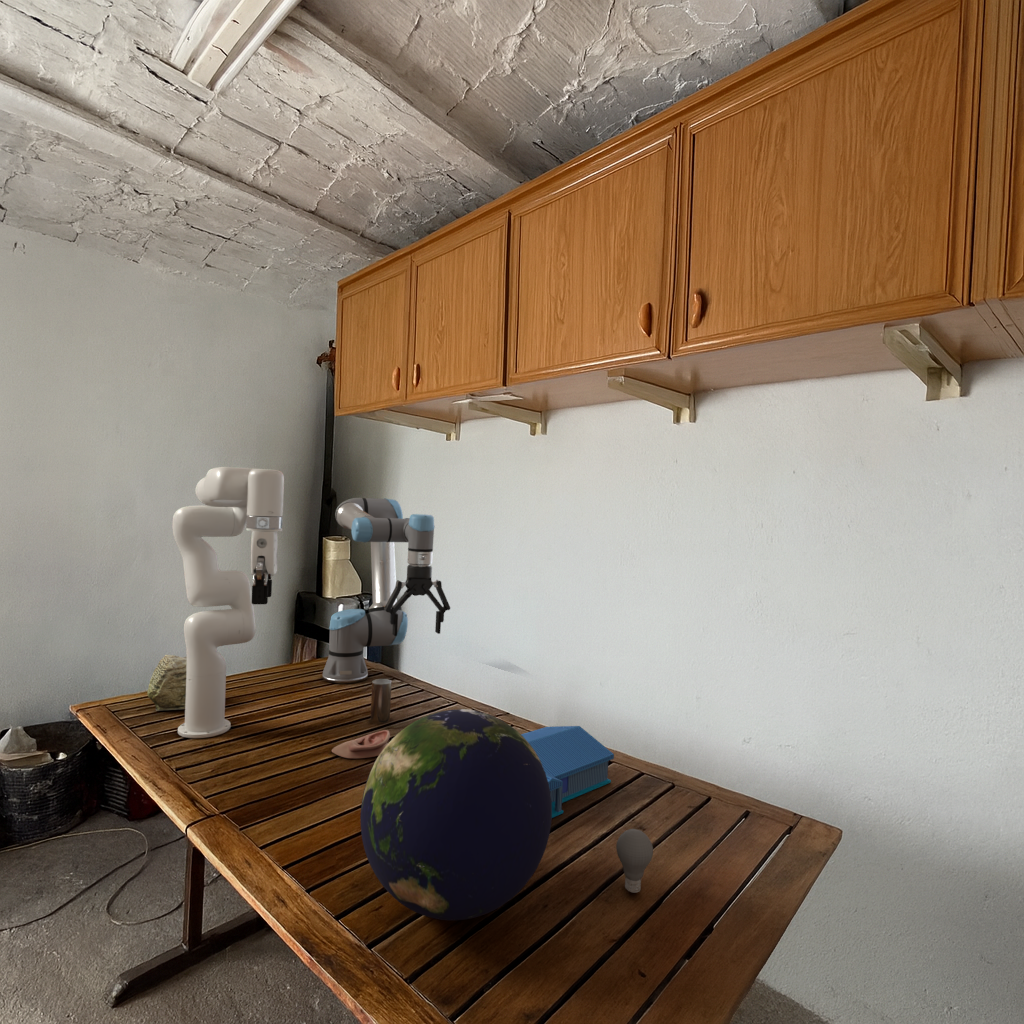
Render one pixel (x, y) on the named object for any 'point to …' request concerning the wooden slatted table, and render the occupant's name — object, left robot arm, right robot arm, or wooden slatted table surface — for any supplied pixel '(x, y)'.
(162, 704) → the fossil
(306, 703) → the wooden slatted table surface
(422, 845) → the globe
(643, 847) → the light bulb
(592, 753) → the model building
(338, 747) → the anatomical model
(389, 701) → the can
